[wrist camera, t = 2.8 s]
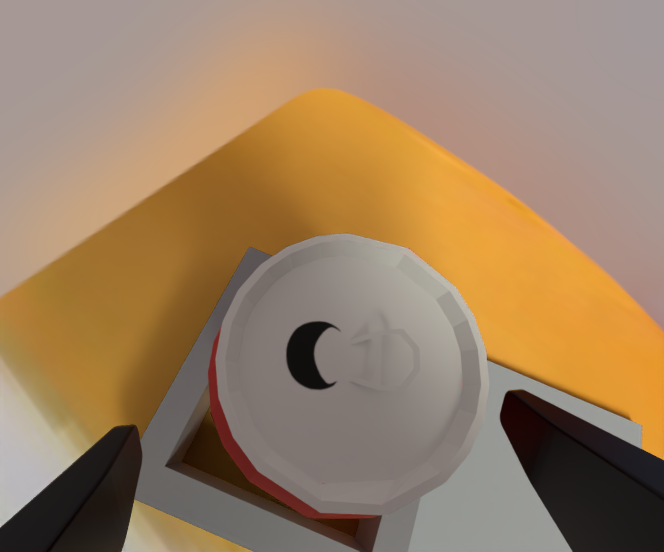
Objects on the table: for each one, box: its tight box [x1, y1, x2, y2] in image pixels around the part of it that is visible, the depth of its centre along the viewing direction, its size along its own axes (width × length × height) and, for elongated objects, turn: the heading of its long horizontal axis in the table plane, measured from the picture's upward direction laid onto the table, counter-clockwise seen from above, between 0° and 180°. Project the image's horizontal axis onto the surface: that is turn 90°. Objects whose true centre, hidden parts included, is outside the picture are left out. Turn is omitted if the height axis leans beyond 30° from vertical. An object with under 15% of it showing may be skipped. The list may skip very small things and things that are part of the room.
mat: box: [408, 360, 642, 552], centre depth 17 cm, size 10×10×1 cm
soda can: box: [208, 233, 489, 518], centre depth 12 cm, size 6×6×12 cm
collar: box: [134, 247, 421, 552], centre depth 16 cm, size 10×10×3 cm
